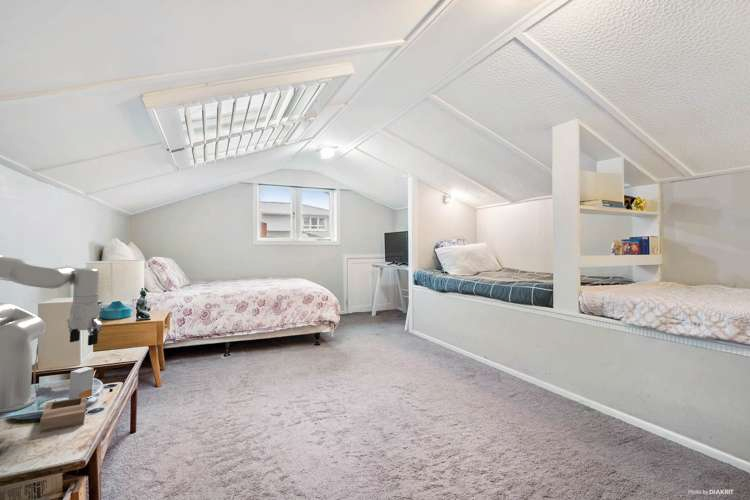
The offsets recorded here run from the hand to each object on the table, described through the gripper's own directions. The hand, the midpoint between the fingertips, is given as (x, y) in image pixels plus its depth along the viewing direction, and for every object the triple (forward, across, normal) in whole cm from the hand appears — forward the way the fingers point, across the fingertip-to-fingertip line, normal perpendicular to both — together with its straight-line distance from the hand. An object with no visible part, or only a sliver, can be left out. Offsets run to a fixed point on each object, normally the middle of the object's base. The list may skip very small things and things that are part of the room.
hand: (83, 342), depth 138 cm
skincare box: (+23, 0, 0) cm, 23 cm away
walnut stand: (+23, +11, -12) cm, 28 cm away
